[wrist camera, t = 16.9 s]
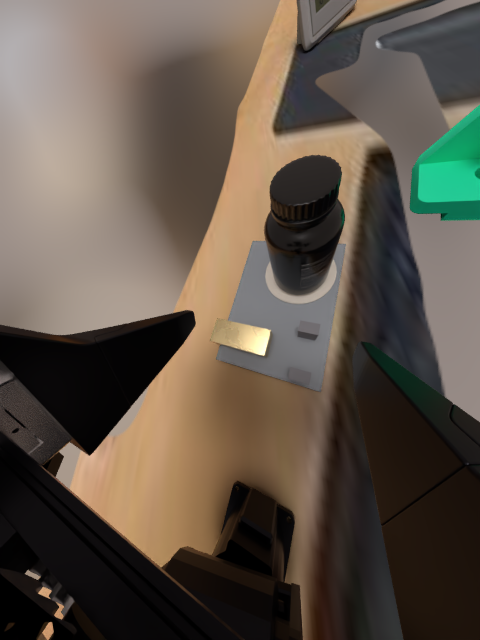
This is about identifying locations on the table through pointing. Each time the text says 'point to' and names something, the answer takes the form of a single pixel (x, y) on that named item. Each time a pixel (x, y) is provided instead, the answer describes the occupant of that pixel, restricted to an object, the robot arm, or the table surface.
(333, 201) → the supplement bottle
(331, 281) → the dock board
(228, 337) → the bar
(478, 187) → the camera mount
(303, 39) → the digital clock
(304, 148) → the table surface
